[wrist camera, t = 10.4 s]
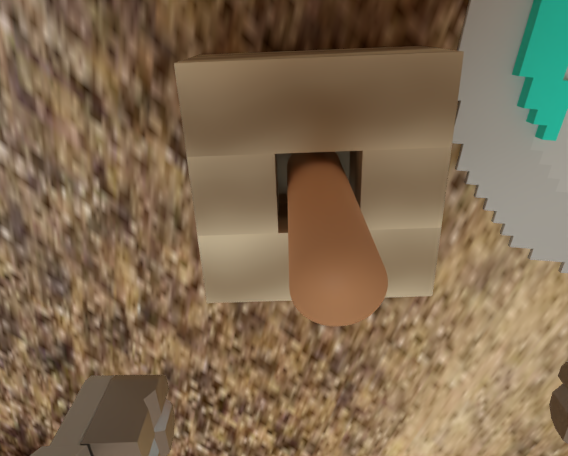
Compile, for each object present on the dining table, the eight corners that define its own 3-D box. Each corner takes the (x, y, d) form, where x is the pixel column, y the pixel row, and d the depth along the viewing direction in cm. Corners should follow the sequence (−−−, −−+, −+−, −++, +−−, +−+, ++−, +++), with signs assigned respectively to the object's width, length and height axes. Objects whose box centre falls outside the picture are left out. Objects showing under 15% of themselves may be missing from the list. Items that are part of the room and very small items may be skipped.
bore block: (199, 54, 23) (173, 63, 18) (421, 45, 23) (464, 51, 18) (221, 250, 28) (206, 303, 23) (403, 244, 28) (432, 295, 23)
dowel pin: (286, 143, 23) (287, 244, 12) (341, 141, 23) (391, 241, 12) (287, 195, 25) (290, 327, 14) (340, 193, 25) (385, 325, 14)
